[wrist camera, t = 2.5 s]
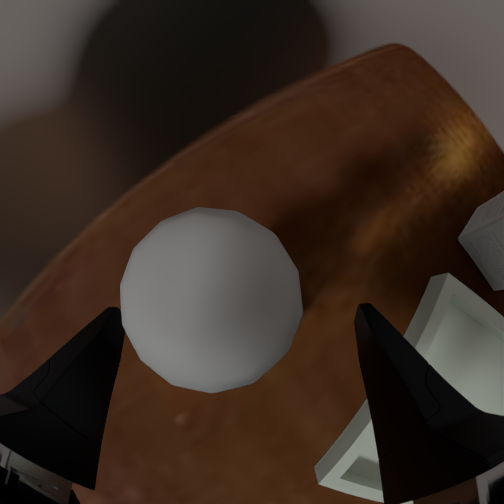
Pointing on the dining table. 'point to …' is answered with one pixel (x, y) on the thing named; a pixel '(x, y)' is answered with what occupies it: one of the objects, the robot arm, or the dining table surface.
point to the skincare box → (487, 240)
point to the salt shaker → (210, 300)
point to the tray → (444, 362)
